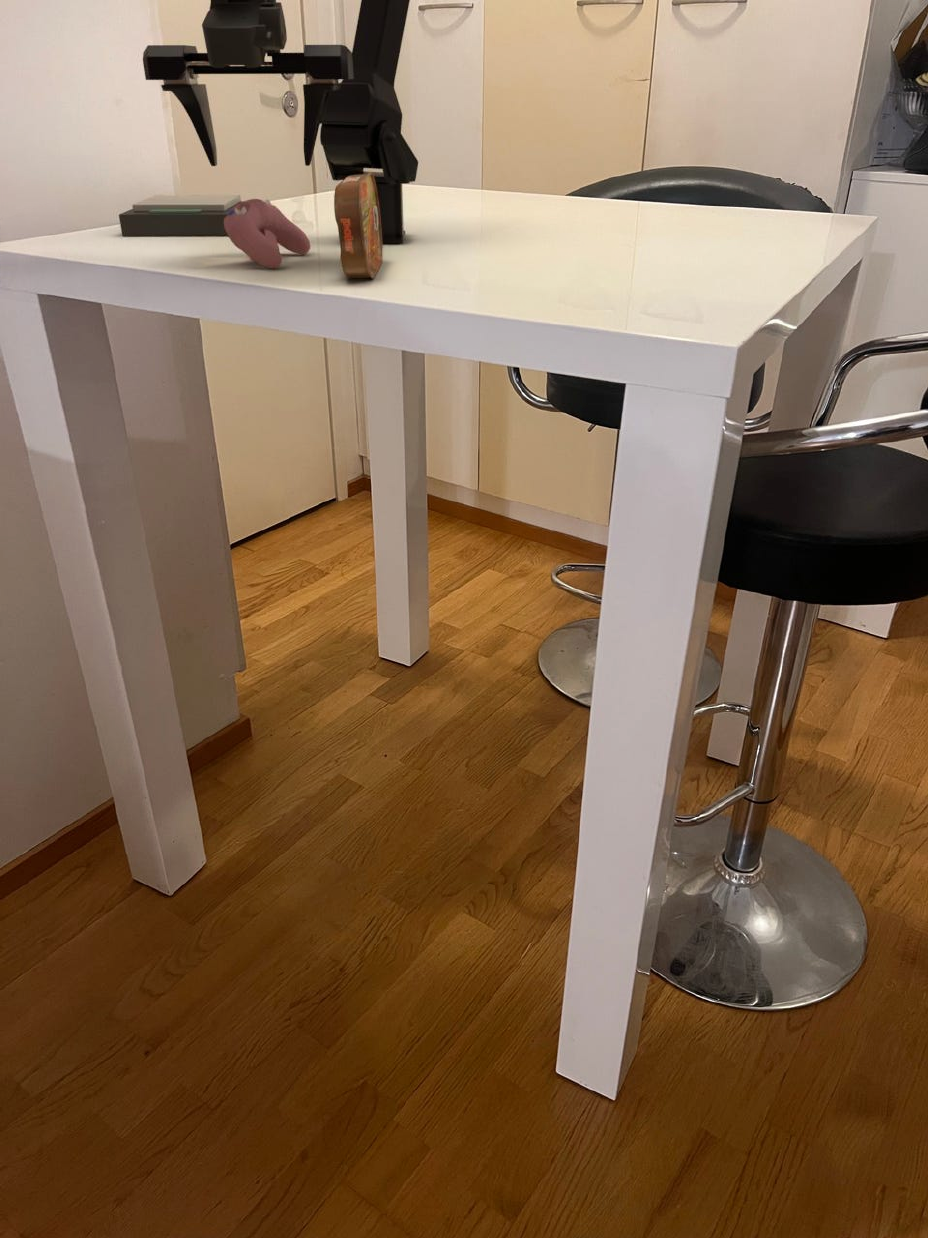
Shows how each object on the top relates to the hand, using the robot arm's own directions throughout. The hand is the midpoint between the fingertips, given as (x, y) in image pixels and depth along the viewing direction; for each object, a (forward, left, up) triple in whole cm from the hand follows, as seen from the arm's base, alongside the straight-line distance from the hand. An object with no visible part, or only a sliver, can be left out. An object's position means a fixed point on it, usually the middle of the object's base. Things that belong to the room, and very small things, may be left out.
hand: (261, 165), depth 92 cm
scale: (+14, -24, -9) cm, 29 cm away
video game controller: (0, 0, -9) cm, 9 cm away
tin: (-10, +6, -9) cm, 15 cm away
